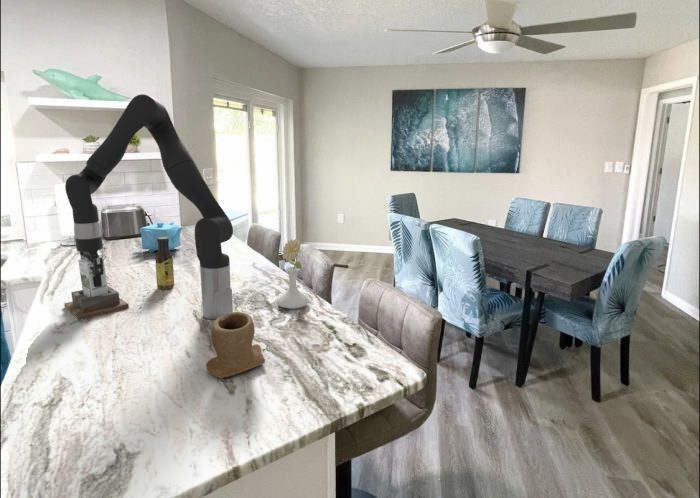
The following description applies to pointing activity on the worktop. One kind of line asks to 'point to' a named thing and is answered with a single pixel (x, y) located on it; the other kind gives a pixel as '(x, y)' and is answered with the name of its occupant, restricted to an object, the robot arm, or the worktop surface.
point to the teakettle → (160, 235)
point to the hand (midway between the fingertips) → (94, 284)
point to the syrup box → (91, 280)
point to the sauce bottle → (164, 265)
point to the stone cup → (233, 345)
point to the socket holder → (95, 304)
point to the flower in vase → (292, 279)
